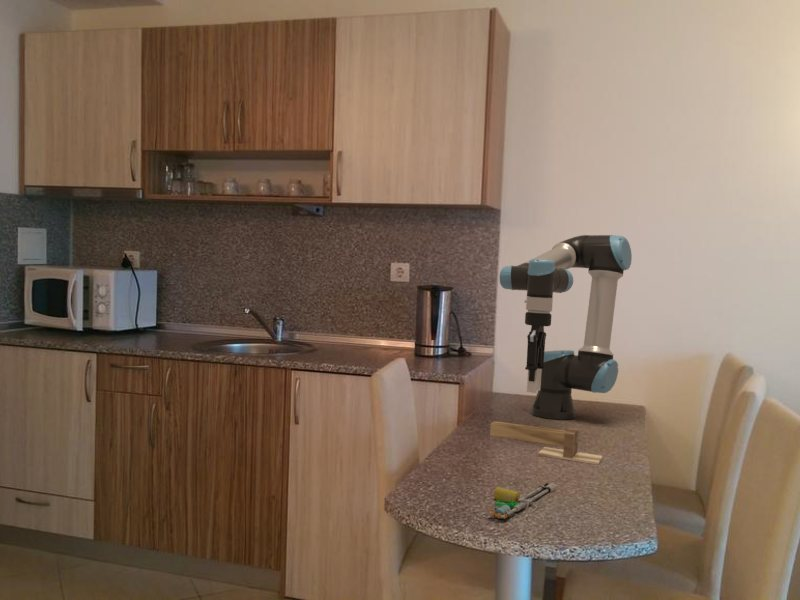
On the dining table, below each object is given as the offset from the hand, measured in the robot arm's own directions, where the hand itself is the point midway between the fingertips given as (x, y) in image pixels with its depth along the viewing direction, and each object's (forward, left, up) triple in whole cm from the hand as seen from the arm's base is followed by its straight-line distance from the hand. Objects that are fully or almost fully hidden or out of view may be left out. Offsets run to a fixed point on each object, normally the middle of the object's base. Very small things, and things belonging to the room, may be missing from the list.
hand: (533, 391), depth 202 cm
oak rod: (-2, 0, -15) cm, 15 cm away
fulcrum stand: (+11, +14, -15) cm, 23 cm away
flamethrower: (+57, +11, -15) cm, 60 cm away
